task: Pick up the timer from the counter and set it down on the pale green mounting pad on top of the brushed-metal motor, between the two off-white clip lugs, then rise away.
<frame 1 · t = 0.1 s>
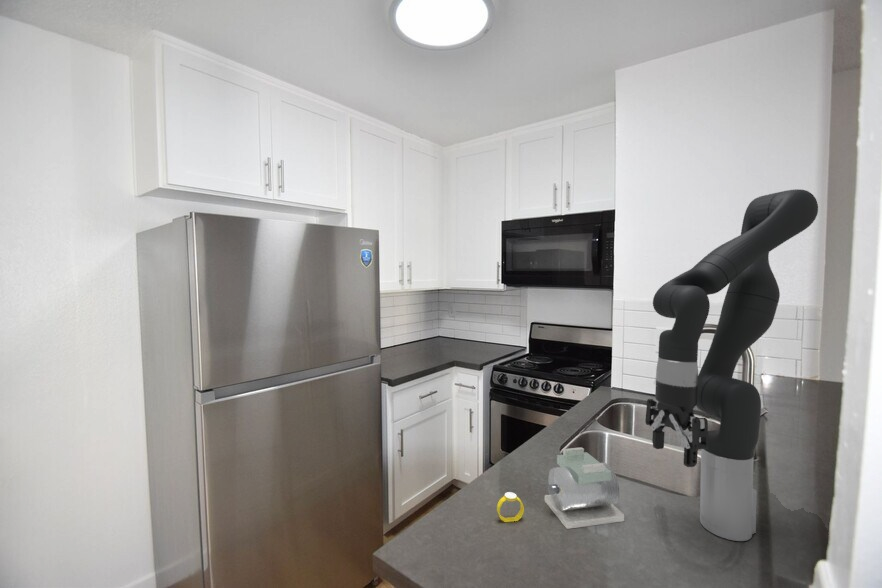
hand: (673, 456, 83), 17 cm above the countertop, tool pointing down, fingers open, 8 cm apart
motor: (582, 510, 93), on the countertop
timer: (510, 521, 89), on the countertop
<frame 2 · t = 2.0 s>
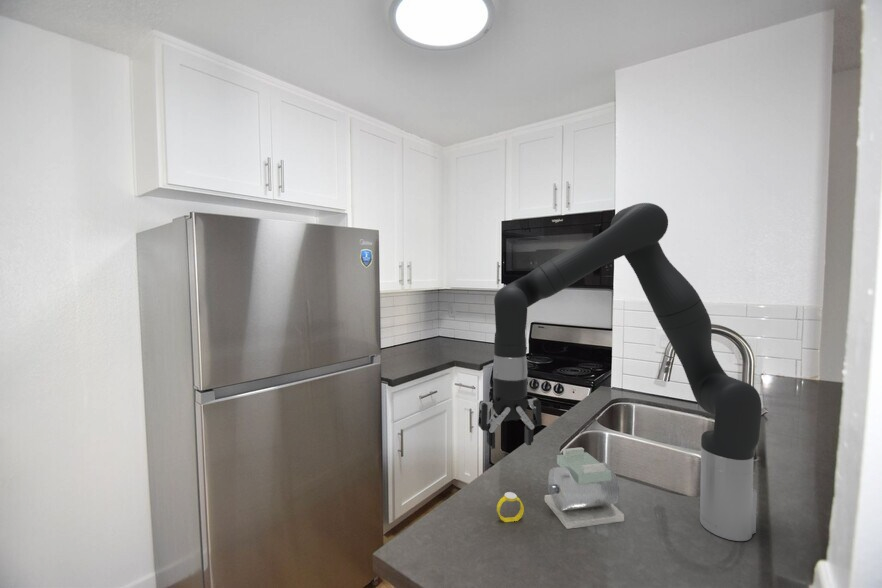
hand: (510, 445, 89), 17 cm above the countertop, tool pointing down, fingers open, 8 cm apart
nothing on the countertop moved.
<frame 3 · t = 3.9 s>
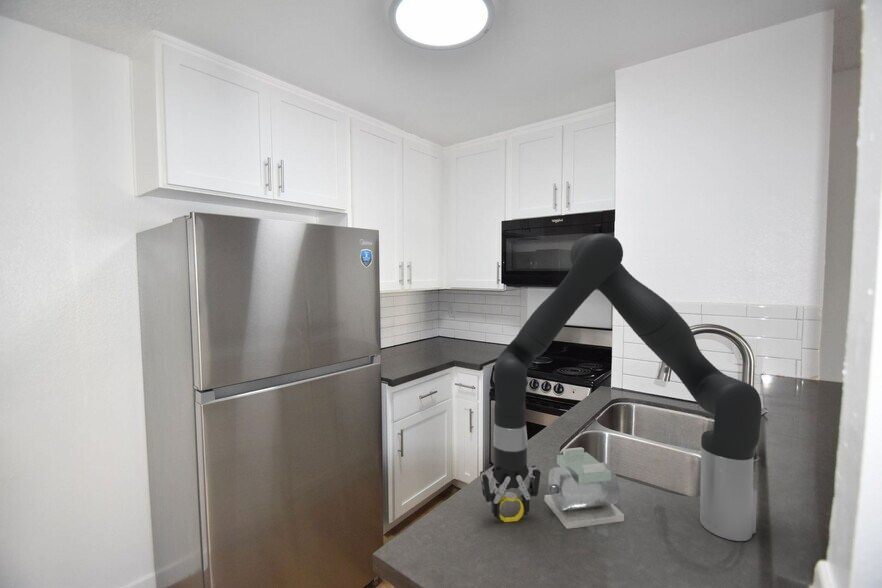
hand: (510, 515, 89), 1 cm above the countertop, tool pointing down, fingers closed on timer, 6 cm apart
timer: (510, 520, 89), on the countertop, touching gripper
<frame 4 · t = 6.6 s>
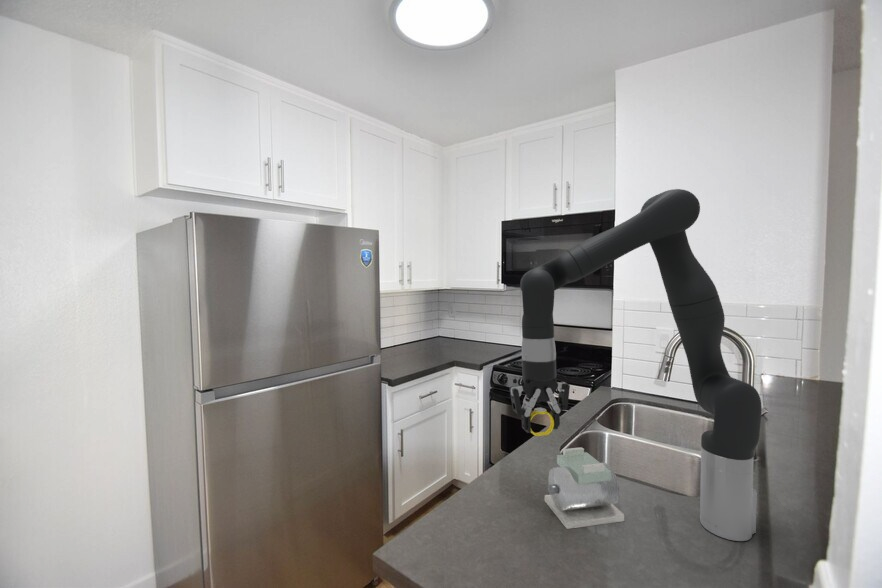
hand: (540, 429, 90), 20 cm above the countertop, tool pointing down, fingers closed on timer, 6 cm apart
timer: (540, 435, 90), point 19 cm above the countertop, touching gripper
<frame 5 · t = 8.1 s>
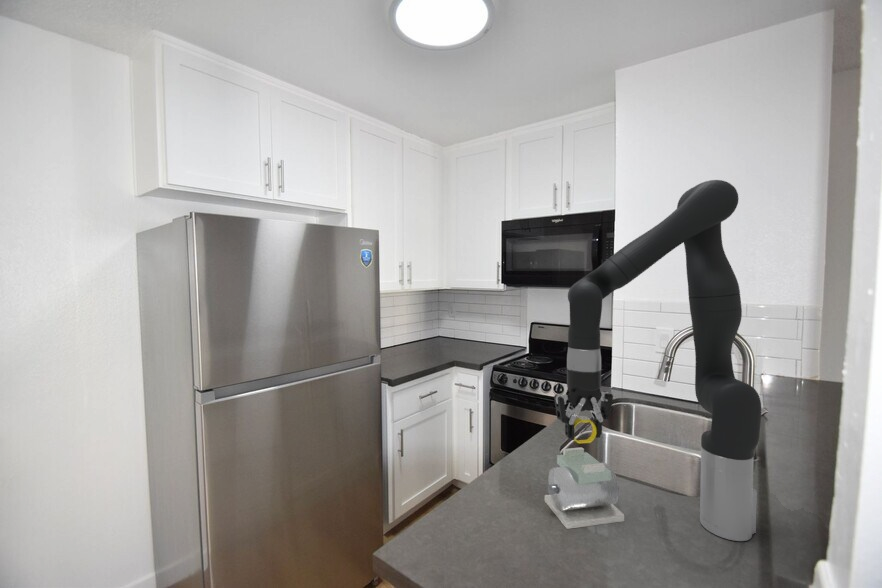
hand: (583, 437, 92), 18 cm above the countertop, tool pointing down, fingers closed on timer, 6 cm apart
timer: (583, 443, 92), point 16 cm above the countertop, touching gripper
when the fingers open (13 cm above the countertop, at t = 9.3 s): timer stays where it is, resting on motor.
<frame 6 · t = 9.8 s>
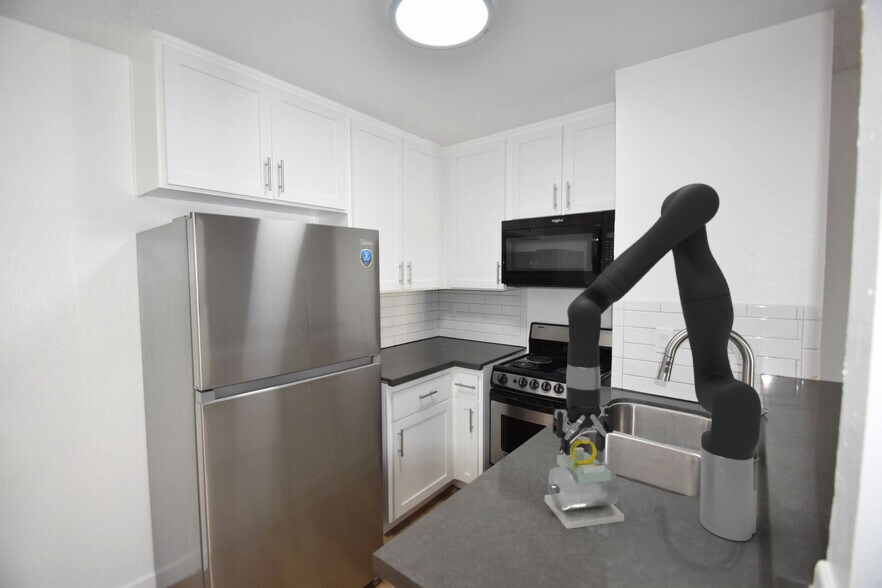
hand: (582, 452, 92), 14 cm above the countertop, tool pointing down, fingers open, 8 cm apart
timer: (583, 463, 92), point 11 cm above the countertop, touching motor
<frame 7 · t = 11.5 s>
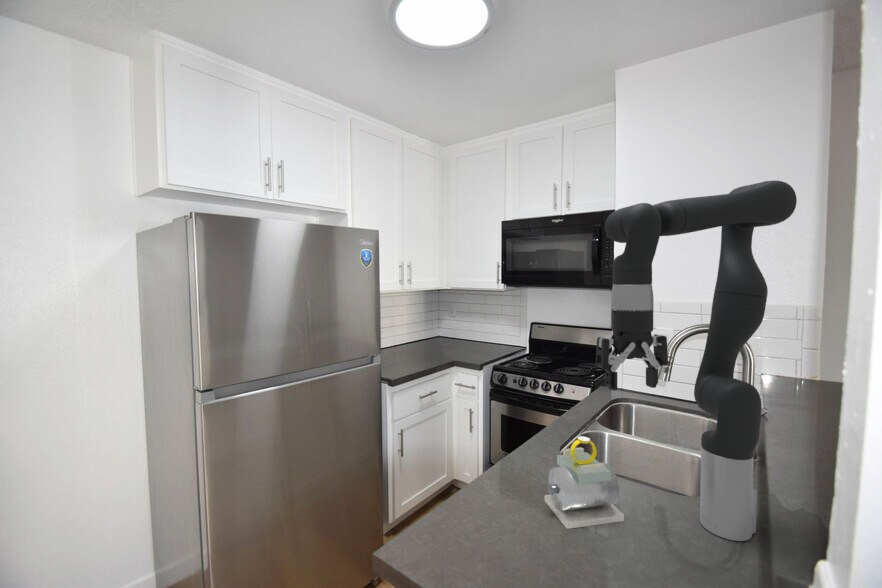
hand: (631, 388, 78), 33 cm above the countertop, tool pointing down, fingers open, 8 cm apart
nothing on the countertop moved.
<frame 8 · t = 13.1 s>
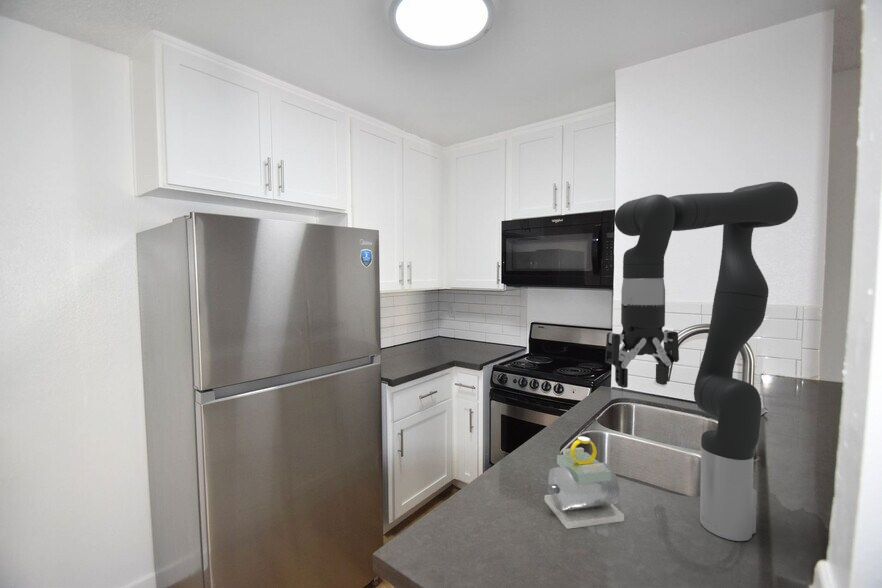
hand: (641, 385, 76), 34 cm above the countertop, tool pointing down, fingers open, 8 cm apart
nothing on the countertop moved.
at the end: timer 0.1 cm off-centre on the motor, point 11.3 cm above the motor's base; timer tilted 0°; the gripper is holding nothing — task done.
